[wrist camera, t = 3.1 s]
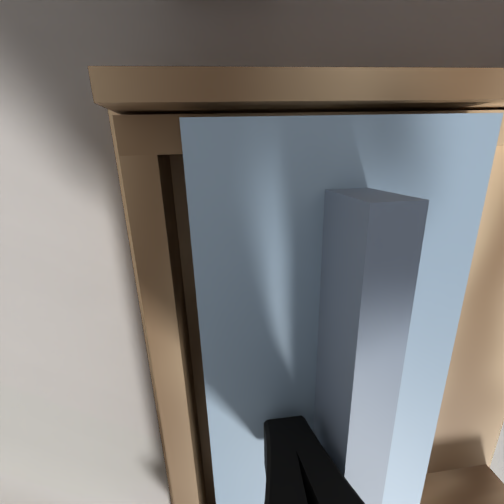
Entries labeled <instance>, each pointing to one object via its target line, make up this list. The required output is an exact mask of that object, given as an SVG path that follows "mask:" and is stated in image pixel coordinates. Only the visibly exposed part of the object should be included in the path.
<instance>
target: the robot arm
mask: <svg viewBox="0 0 504 504" xmlns="http://www.w3.org/2000/svg"><path fill="white" fill-rule="evenodd" d="M264 465H265V473H266V488H265V501H264V504H365V503H364V502H363V500H362V499H361V498H360V497H359V495H358V494H357V493H356V491H355V490H354V489H353V488H352V486H351V485H350V484H349V482H348V481H347V480H346V478H345V477H344V476H343V474H342V473H341V472H340V470H339V469H338V467H337V466H336V465H335V463H334V462H333V461H332V459H331V458H330V456H329V455H328V453H327V452H326V450H325V449H324V448H323V446H322V445H321V443H320V442H319V440H318V439H317V437H316V435H315V434H314V432H313V431H312V429H311V427H310V426H309V424H308V422H307V421H306V419H305V418H304V417H303V416H302V415H300V416H292V417H284V418H277V419H269V420H266V421H265V422H264Z"/></svg>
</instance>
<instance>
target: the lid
mask: <svg viewBox="0 0 504 504" xmlns="http://www.w3.org/2000/svg"><path fill="white" fill-rule="evenodd" d="M502 117H503V113H449V114H379V115H310V116H241V117H179V119H180V130H181V141H182V151H183V162H184V172H185V183H186V193H187V204H188V214H189V225H190V235H191V246H192V256H193V267H194V277H195V288H196V299H197V309H198V320H199V330H200V341H201V351H202V362H203V372H204V383H205V393H206V404H207V414H208V425H209V435H210V446H211V457H212V467H213V478H214V488H215V499H216V504H264V501H265V488H266V473H265V465H264V422H265V421H266V420H269V419H277V418H284V417H292V416H300V415H302V416H303V417H304V418H305V419H306V421H307V422H308V424H309V426H310V427H311V429H312V431H313V432H314V434H315V435H316V437H317V439H318V440H319V442H320V443H321V445H322V446H323V448H324V449H325V450H326V452H327V453H328V455H329V456H330V458H331V459H332V461H333V462H334V463H335V465H336V466H337V467H338V469H339V470H340V472H341V473H342V474H343V476H344V477H345V478H346V480H347V481H348V482H349V484H350V485H351V486H352V488H353V489H354V490H355V491H356V493H357V494H358V495H359V497H360V498H361V499H362V500H363V502H364V503H365V504H420V501H421V496H422V492H423V487H424V482H425V478H426V473H427V468H428V464H429V459H430V454H431V450H432V445H433V440H434V436H435V431H436V426H437V421H438V417H439V412H440V407H441V403H442V398H443V393H444V389H445V384H446V379H447V375H448V370H449V365H450V361H451V356H452V351H453V347H454V342H455V337H456V333H457V328H458V323H459V319H460V314H461V309H462V305H463V300H464V295H465V291H466V286H467V281H468V276H469V272H470V267H471V262H472V258H473V253H474V248H475V244H476V239H477V234H478V230H479V225H480V220H481V216H482V211H483V206H484V202H485V197H486V192H487V188H488V183H489V178H490V174H491V169H492V164H493V160H494V155H495V150H496V146H497V141H498V136H499V131H500V127H501V122H502Z"/></svg>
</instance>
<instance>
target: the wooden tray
mask: <svg viewBox="0 0 504 504" xmlns="http://www.w3.org/2000/svg"><path fill="white" fill-rule="evenodd" d="M88 71H89V77H90V83H91V89H92V94H93V100H94V103H96V104H98V105H100V106H102V107H104V108H107V109H108V114H109V120H110V127H111V133H112V139H113V145H114V151H115V158H116V164H117V170H118V176H119V182H120V188H121V195H122V201H123V207H124V213H125V219H126V225H127V232H128V238H129V244H130V250H131V256H132V262H133V269H134V275H135V281H136V287H137V293H138V299H139V306H140V312H141V318H142V324H143V330H144V336H145V343H146V349H147V355H148V361H149V367H150V373H151V380H152V386H153V392H154V398H155V404H156V410H157V417H158V423H159V429H160V435H161V441H162V447H163V454H164V460H165V466H166V472H167V478H168V484H169V491H170V497H171V503H172V504H216V499H215V488H214V478H213V467H212V457H211V446H210V435H209V425H208V414H207V404H206V393H205V383H204V372H203V362H202V351H201V341H200V330H199V320H198V309H197V299H196V288H195V277H194V267H193V256H192V246H191V235H190V225H189V214H188V204H187V193H186V183H185V172H184V162H183V151H182V141H181V130H180V119H179V117H241V116H310V115H379V114H449V113H503V117H502V122H501V127H500V131H499V136H498V141H497V146H496V150H495V155H494V160H493V164H492V169H491V174H490V178H489V183H488V188H487V192H486V197H485V202H484V206H483V211H482V216H481V220H480V225H479V230H478V234H477V239H476V244H475V248H474V253H473V258H472V262H471V267H470V272H469V276H468V281H467V286H466V291H465V295H464V300H463V305H462V309H461V314H460V319H459V323H458V328H457V333H456V337H455V342H454V347H453V351H452V356H451V361H450V365H449V370H448V375H447V379H446V384H445V389H444V393H443V398H442V403H441V407H440V412H439V417H438V421H437V426H436V431H435V436H434V440H433V445H432V450H431V454H430V459H429V464H428V468H427V473H426V478H425V482H424V487H423V492H422V496H421V501H420V504H504V484H503V482H502V481H501V480H500V479H499V478H498V477H497V476H496V475H495V473H494V472H493V471H492V470H491V469H490V464H491V461H492V458H493V454H494V451H495V448H496V445H497V441H498V438H499V435H500V431H501V428H502V425H503V421H504V68H445V67H212V66H88Z"/></svg>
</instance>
